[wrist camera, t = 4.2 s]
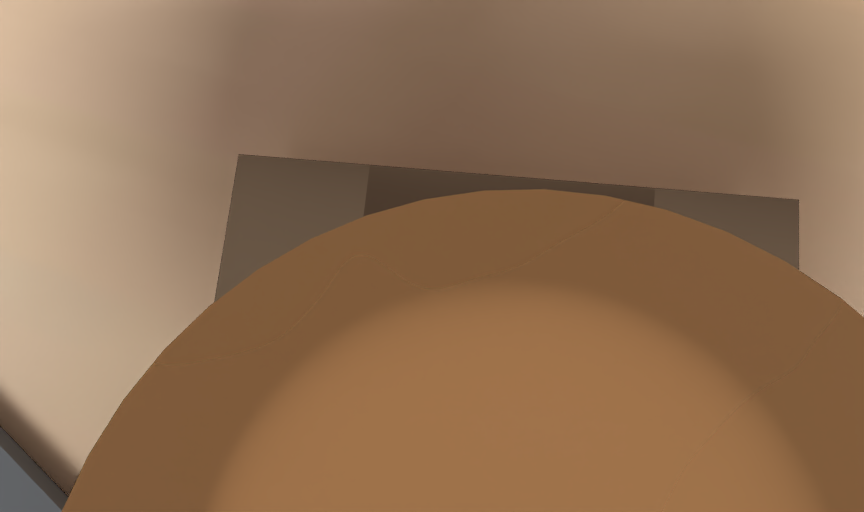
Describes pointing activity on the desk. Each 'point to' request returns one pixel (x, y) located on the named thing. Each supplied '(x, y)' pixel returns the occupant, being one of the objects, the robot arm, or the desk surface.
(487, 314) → the amber topped metal pillar
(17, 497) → the mat
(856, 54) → the desk surface
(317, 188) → the brown square frame
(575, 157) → the desk surface
